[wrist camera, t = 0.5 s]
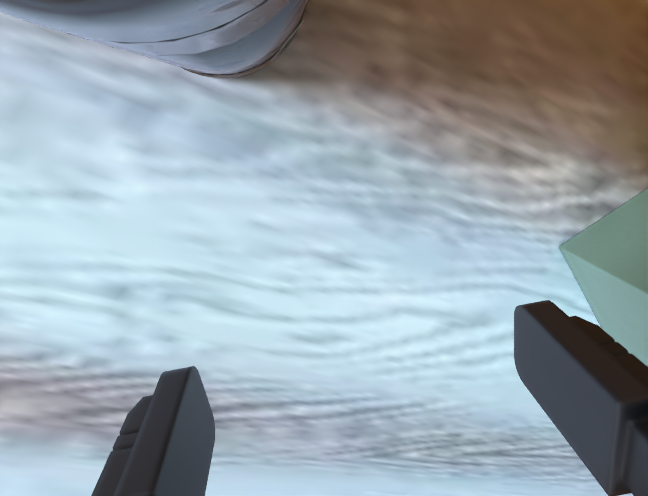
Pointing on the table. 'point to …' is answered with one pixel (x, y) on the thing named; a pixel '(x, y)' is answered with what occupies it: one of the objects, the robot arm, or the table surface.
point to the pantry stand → (616, 272)
